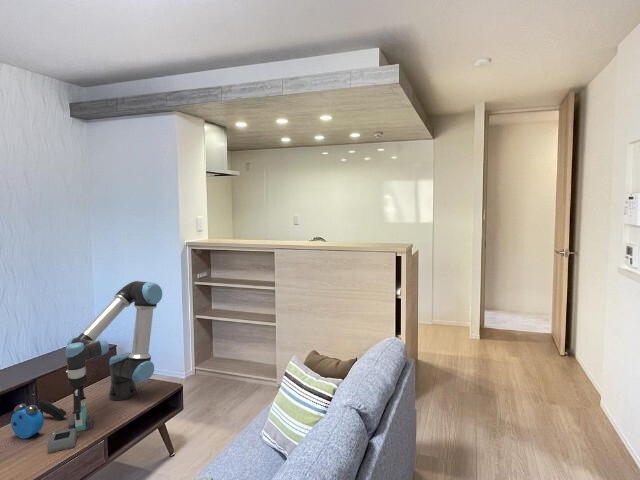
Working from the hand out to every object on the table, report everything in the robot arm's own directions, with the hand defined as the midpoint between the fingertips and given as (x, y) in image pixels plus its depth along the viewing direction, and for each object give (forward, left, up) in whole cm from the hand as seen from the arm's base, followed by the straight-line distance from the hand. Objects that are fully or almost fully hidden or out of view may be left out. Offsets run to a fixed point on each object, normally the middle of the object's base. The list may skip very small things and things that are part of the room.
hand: (80, 419), depth 200 cm
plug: (0, 0, -4) cm, 4 cm away
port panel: (+6, +12, -4) cm, 14 cm away
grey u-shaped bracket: (0, 0, -4) cm, 4 cm away
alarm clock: (+22, -4, -5) cm, 23 cm away
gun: (+14, -18, -5) cm, 23 cm away
